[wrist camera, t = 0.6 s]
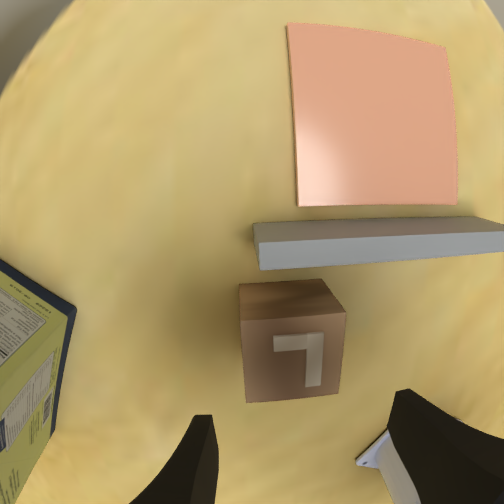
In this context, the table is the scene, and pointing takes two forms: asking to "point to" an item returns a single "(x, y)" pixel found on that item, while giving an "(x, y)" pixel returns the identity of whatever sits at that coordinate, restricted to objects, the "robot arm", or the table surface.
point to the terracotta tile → (371, 118)
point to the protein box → (28, 374)
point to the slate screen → (372, 240)
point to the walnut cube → (290, 340)
